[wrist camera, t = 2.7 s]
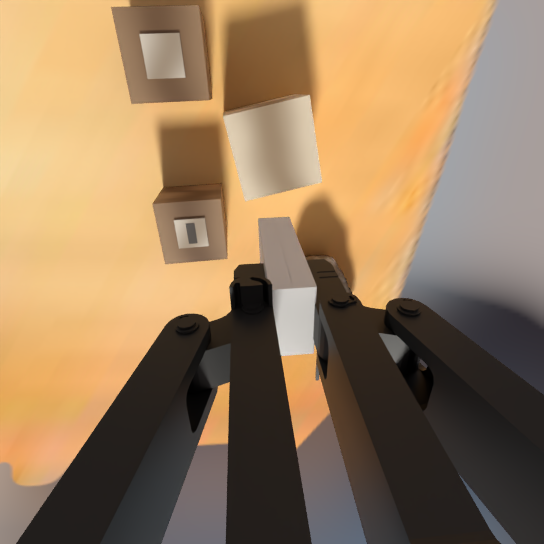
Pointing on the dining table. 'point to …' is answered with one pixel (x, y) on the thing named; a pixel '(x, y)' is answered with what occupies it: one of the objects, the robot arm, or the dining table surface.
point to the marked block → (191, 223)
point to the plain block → (274, 145)
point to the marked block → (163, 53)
